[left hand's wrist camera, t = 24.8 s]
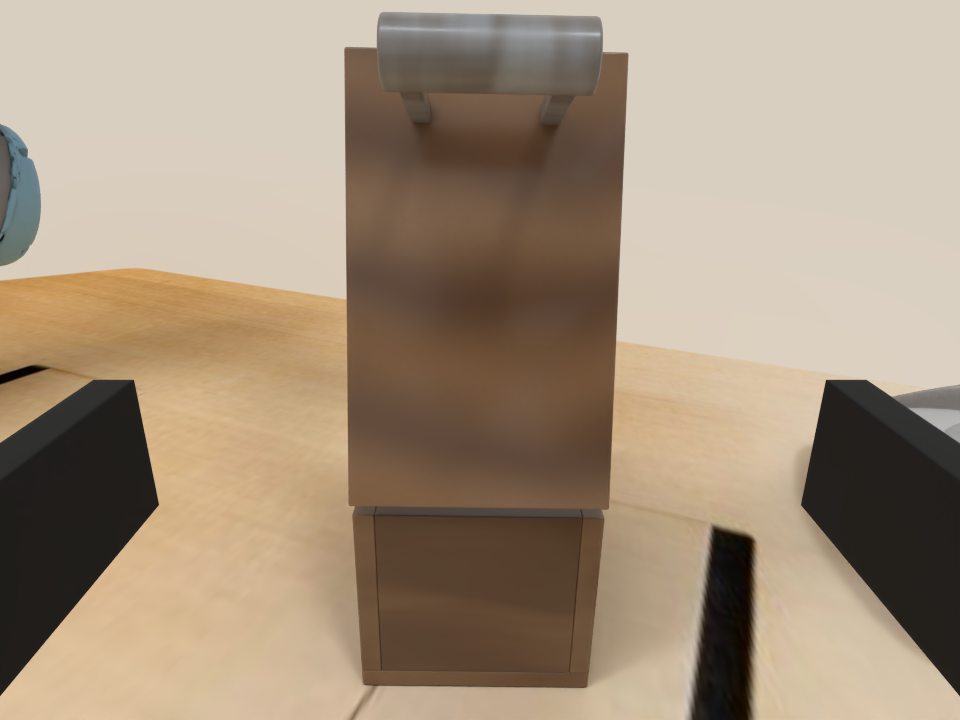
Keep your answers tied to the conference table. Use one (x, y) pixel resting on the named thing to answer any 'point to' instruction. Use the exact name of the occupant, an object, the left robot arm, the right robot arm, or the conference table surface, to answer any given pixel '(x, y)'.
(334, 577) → the conference table surface
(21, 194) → the right robot arm
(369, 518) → the chest
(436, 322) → the lid
